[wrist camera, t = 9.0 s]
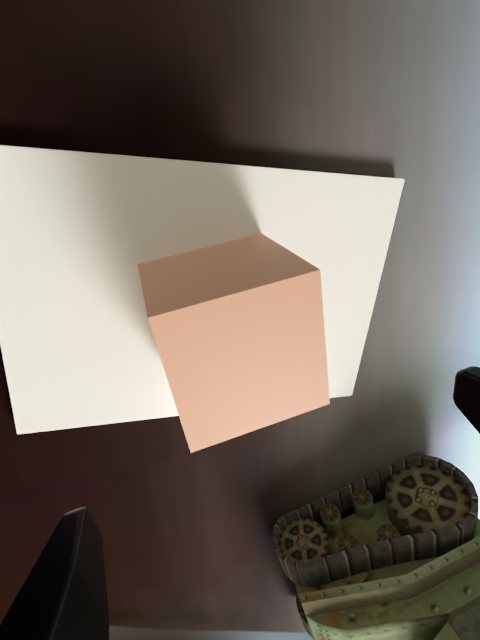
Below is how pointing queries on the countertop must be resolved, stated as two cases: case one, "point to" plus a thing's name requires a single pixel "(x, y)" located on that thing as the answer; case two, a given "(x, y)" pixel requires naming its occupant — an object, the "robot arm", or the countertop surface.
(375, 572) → the toy
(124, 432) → the countertop surface
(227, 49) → the countertop surface
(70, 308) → the board
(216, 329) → the block
